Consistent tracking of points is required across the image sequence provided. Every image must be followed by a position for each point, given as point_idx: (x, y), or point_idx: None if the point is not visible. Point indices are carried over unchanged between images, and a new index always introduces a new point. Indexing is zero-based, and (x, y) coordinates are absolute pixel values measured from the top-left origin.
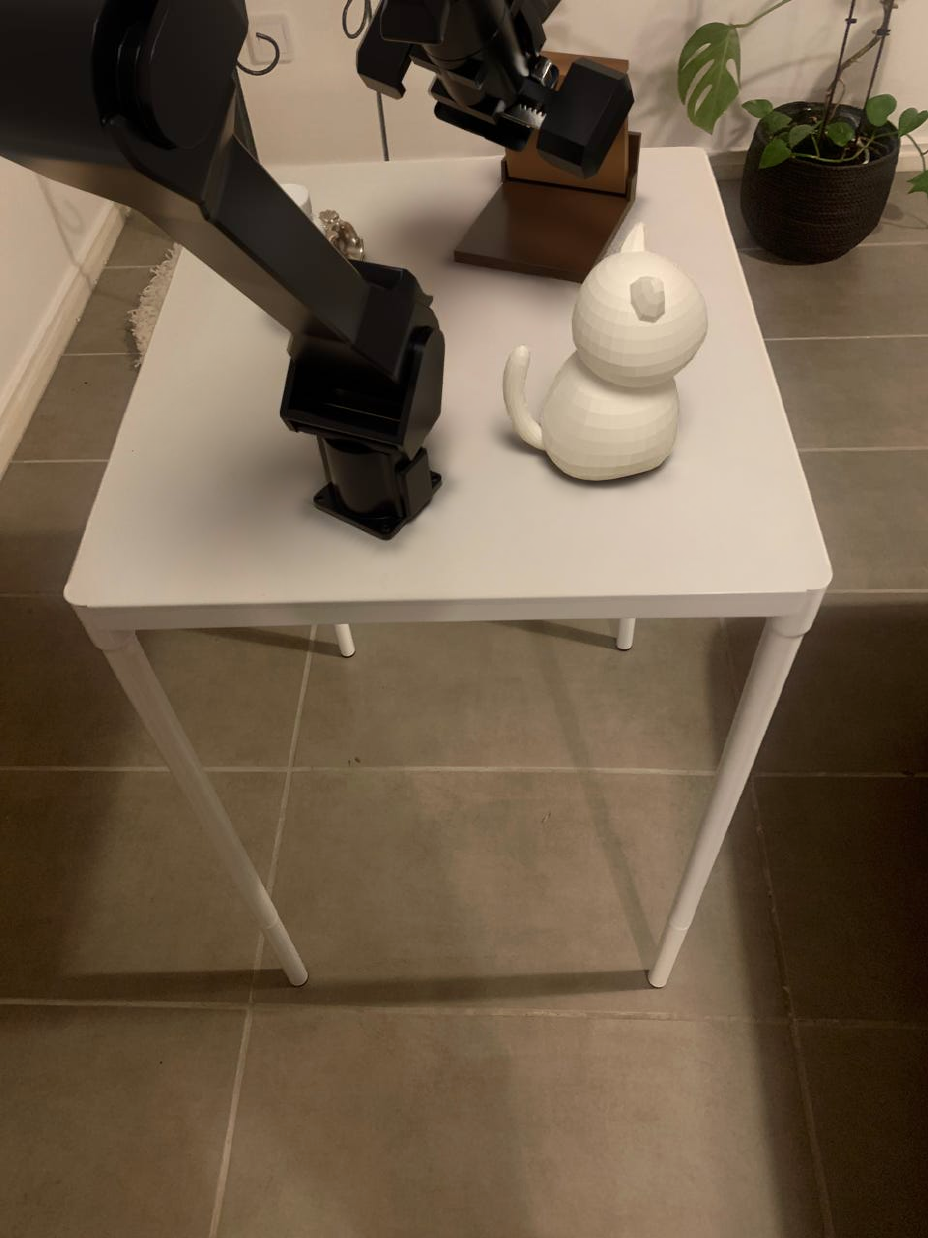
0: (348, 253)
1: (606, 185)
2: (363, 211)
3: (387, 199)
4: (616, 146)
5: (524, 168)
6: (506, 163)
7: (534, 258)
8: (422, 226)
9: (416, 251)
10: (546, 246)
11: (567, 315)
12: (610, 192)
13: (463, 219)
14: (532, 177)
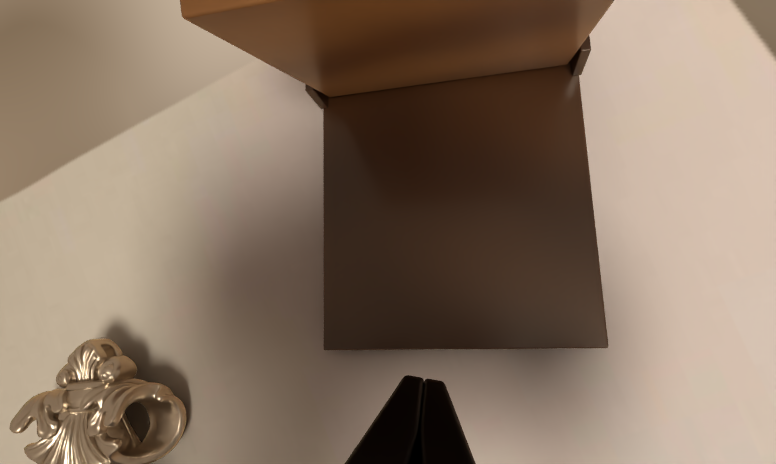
0: (158, 414)
1: (529, 66)
2: (138, 253)
3: (160, 206)
4: (571, 31)
5: (355, 87)
6: None
7: (479, 328)
8: (241, 262)
9: (259, 338)
10: (485, 280)
11: (606, 460)
12: None
13: (297, 217)
14: (374, 89)
